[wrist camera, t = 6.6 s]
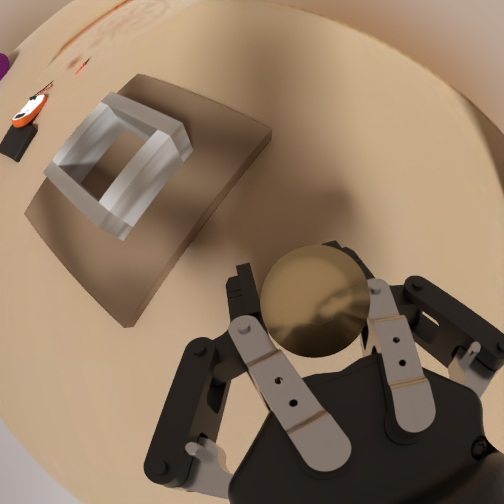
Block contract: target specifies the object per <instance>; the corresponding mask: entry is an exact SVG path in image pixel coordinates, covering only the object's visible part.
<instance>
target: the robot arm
mask: <svg viewBox="0 0 504 504" xmlns="http://www.w3.org/2000/svg"><path fill="white" fill-rule="evenodd" d="M322 245H325V246H330V247H333V248H336V249H338V250H341V251H342V252H344V253H346V254H347V255H348V256H350V257H351V258H352V259H353V260H354V261H355V262H356V263H357V264H358V265H359V267H360V268H361V270H362V271H363V273H364V275H365V277H366V280H367V282H368V286H369V290H370V310H369V315H368V318H367V321H366V324H365V326H364V328H363V329H362V331H361V333H360V334H359V337H360V342H361V347H362V353H363V358H360V359H358V360H357V361H356V362H354V363H353V364H351V365H350V366H348V367H346V368H345V369H343V370H342V371H339V372H332V373H322V374H314V375H311V376H307V377H304V378H301V377H300V376H299V374H298V373H297V371H296V370H295V369H294V367H293V366H292V364H291V363H290V361H289V360H288V359H287V357H286V356H285V354H284V353H283V352H282V351H281V350H280V349H279V350H278V349H277V348H276V347H275V345H274V344H273V342H272V341H271V339H270V338H269V335H268V331H267V328H266V326H265V324H264V321H263V318H262V314H261V307H260V300H259V297H258V293H257V289H256V285H255V281H254V278H253V274H252V270H251V266H250V263H246V264H242V265H238V266H236V268H237V273H238V276H234V277H230V278H229V279H228V281H227V283H226V291H227V298H228V306H229V313H230V325H229V327H228V330H227V331H226V332H225V333H224V334H223V335H221V336H219V337H218V338H216V339H214V340H211V339H209V338H206V337H199V338H196V339H194V340H192V341H191V342H189V343H188V345H187V346H186V348H185V351H184V353H183V356H182V358H181V361H180V364H179V366H178V369H177V372H176V374H175V377H174V380H173V382H172V385H171V388H170V391H169V393H168V396H167V399H166V401H165V404H164V407H163V410H162V413H161V415H160V418H159V421H158V424H157V427H156V429H155V432H154V435H153V438H152V441H151V444H150V447H149V450H148V453H147V456H146V459H145V461H144V472H145V474H146V476H147V477H148V479H149V480H151V481H152V482H154V483H157V484H160V485H163V486H165V487H168V488H172V489H176V490H180V491H187V492H198V493H202V494H206V495H211V496H215V497H220V498H225V499H229V501H230V504H504V454H503V453H501V452H500V451H498V450H497V449H496V448H495V447H494V446H492V445H491V444H490V442H489V441H488V440H487V438H486V436H485V433H484V427H483V409H482V403H481V400H480V397H481V396H482V394H483V393H484V391H485V390H486V388H487V386H488V385H489V383H490V381H491V380H492V378H493V377H494V376H495V375H496V373H497V372H498V371H499V370H500V369H501V367H502V366H503V365H504V334H503V333H502V332H501V331H499V330H498V329H497V328H495V327H494V326H493V325H491V324H490V323H489V322H487V321H486V320H485V319H483V318H482V317H481V316H479V315H478V314H476V313H475V312H474V311H472V310H471V309H469V308H468V307H467V306H465V305H464V304H462V303H461V302H459V301H458V300H457V299H455V298H454V297H452V296H451V295H449V294H448V293H446V292H445V291H443V290H442V289H440V288H439V287H437V286H436V285H434V284H433V283H431V282H430V281H428V280H426V279H425V278H423V277H421V276H410V277H408V278H407V279H406V280H405V283H404V285H395V286H389V285H388V284H387V283H386V282H385V281H383V280H381V279H377V278H375V277H374V276H373V274H372V273H371V272H370V271H369V269H368V268H367V267H366V266H365V264H364V263H362V260H361V259H360V258H359V257H358V255H357V254H356V253H355V252H354V251H353V250H351V249H349V248H348V247H344V248H341V246H340V245H339V244H338V243H337V241H335V240H334V241H331V242H327V243H323V244H322ZM423 311H424V312H425V313H426V314H428V315H429V316H430V317H432V318H433V319H435V320H436V321H437V322H438V324H439V326H438V325H437V324H435V323H434V322H433V321H431V320H430V319H429V318H427V317H426V316H425V315H423V314H422V312H423ZM414 341H415V342H416V343H417V344H419V345H420V346H421V347H422V348H423V349H425V350H426V351H427V352H428V353H430V354H431V355H432V356H433V357H434V358H436V359H437V360H438V361H439V362H440V363H442V364H443V365H444V366H445V367H446V368H448V373H449V375H450V376H449V379H448V378H446V377H443V376H441V375H439V374H436V373H434V372H432V371H430V370H427V369H425V368H423V367H422V366H421V363H420V359H419V356H418V353H417V349H416V346H415V343H414ZM244 372H247V374H248V375H249V377H250V379H251V381H252V383H253V385H254V386H255V388H256V390H257V392H258V394H259V395H260V397H261V399H262V401H263V403H264V405H265V407H266V408H267V410H268V412H269V414H268V415H267V417H266V419H265V421H264V423H263V425H262V427H261V429H260V430H259V432H258V434H257V436H256V438H255V439H254V441H253V443H252V445H251V446H250V448H249V450H248V452H247V453H246V455H245V457H244V459H243V460H242V462H241V464H240V465H239V467H238V468H237V470H236V472H235V473H234V475H233V474H231V473H230V472H229V471H228V469H227V467H226V455H225V452H224V451H223V449H222V448H221V447H219V446H218V445H217V444H216V440H217V436H218V432H219V428H220V424H221V420H222V416H223V412H224V408H225V404H226V400H227V396H228V392H229V388H230V383H231V380H232V379H233V378H235V377H237V376H239V375H241V374H243V373H244Z"/></svg>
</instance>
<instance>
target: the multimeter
mask: <svg viewBox="0 0 504 504" xmlns="http://www.w3.org/2000/svg"><path fill="white" fill-rule="evenodd" d="M89 59H90V58H89ZM89 59H88V60H89ZM88 60H87V61H86V62H85V63H83V66H84V65H86V63H87V62H88ZM83 66H82V67H83ZM82 67H81V68H82ZM81 68H80V69H79V70H78V71H77V72H79V71H80V70H81ZM53 81H54V80H53ZM53 81H52V82H53ZM52 82H51V83H52ZM51 83H50V84H51ZM48 85H49V84H48ZM48 85H47V86H48ZM47 86H46V87H47ZM51 86H52V84H51ZM51 86H50V87H51ZM46 87H45V88H46ZM50 87H49V88H50ZM45 88H44V89H45ZM49 88H47V89H49ZM44 89H43V91H45V90H47V89H45V90H44ZM41 91H42V90H41ZM41 91H40V93H42V92H43V91H42V92H41ZM38 93H39V92H38ZM38 93H37V94H38ZM40 93H39V94H40ZM37 94H36V95H37ZM39 94H38V95H37V96H35V95H34V96H33V97H30V101H29V102H28V103H27V105H26V106H25V107H24V108H23V109H22V110H21V111H20V112H19V113H18V114H17V115H16V116H15V117H14V118H13V119H12V126H11V127H10V129H9V130H8V132H7V134H6V135H5V137H4V139H3V140H2V142H1V144H0V153H1V154H4V155H6V156H8V157H10V158H12V159H13V160H15V161H16V162H19V161H20V160H21V158H22V156H23V154H24V153H25V151H26V149H27V148H28V146H29V144H30V143H31V141H32V139H33V138H34V136H35V135H36V133H37V130H36V129H35V128H34V127H33V126H29V125H27V124H28V123H29V122H30V121H31V120H32V119H33V118H34V117H35V116H36V115H37V114H38V113H39V112H40V111H41V109H42V108H43V106H44V104H45V103H46V101H47V99H46V96H45V95H44V94H42V95H39Z"/></svg>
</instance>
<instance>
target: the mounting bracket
mask: <svg viewBox="0 0 504 504" xmlns="http://www.w3.org/2000/svg"><path fill="white" fill-rule="evenodd" d="M8 67H9V60H8V58H7V56H6V55H4V54H1V53H0V80H1V79H2V78H3V77H4V76H5V74H6V73H7V71H8Z"/></svg>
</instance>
